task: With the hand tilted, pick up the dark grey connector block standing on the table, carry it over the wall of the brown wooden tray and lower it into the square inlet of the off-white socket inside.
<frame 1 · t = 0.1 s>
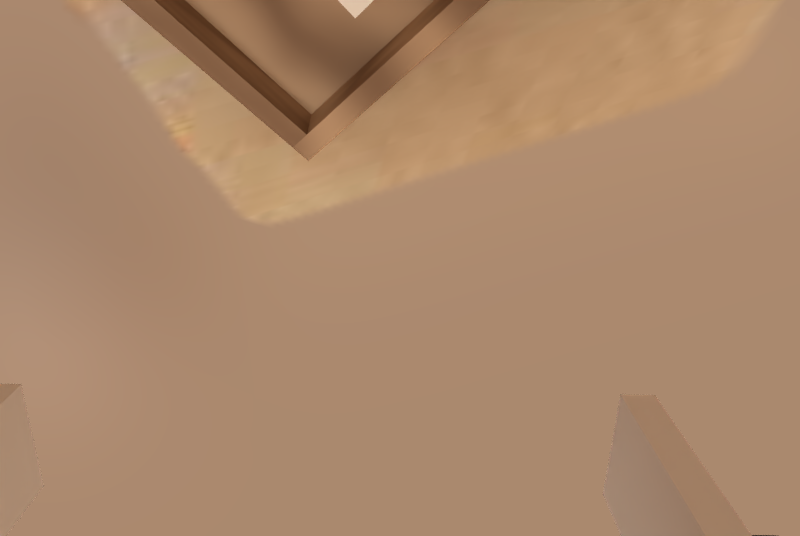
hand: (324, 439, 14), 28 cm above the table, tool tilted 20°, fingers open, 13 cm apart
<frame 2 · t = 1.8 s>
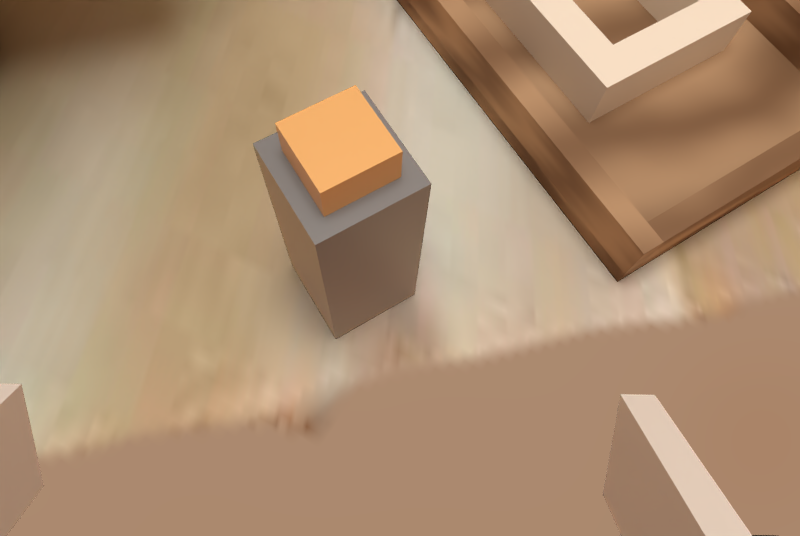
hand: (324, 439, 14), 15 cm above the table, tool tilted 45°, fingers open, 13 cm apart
brown wooden tray: (598, 37, 39), on the table
socket: (612, 5, 36), in the brown wooden tray, point 2 cm above the table
connector: (352, 279, 32), on the table
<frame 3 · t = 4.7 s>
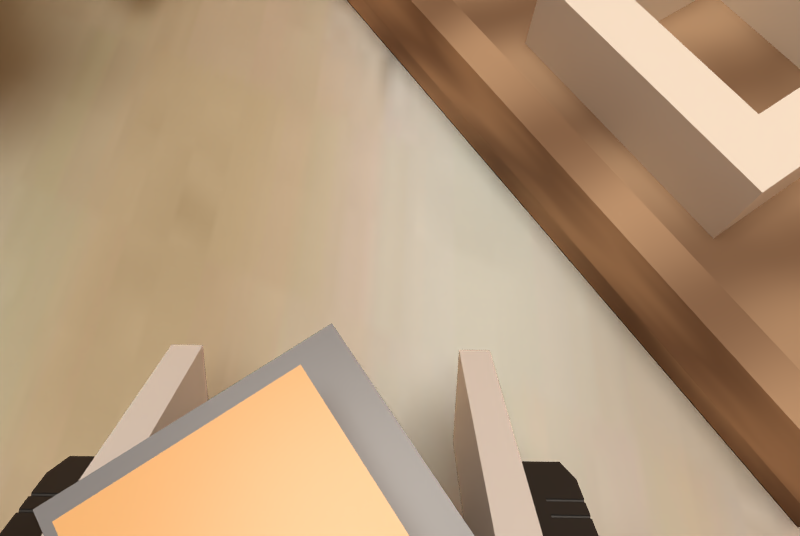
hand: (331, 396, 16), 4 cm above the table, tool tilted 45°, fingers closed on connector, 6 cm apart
brown wooden tray: (699, 90, 25), on the table
socket: (731, 44, 23), in the brown wooden tray, point 2 cm above the table
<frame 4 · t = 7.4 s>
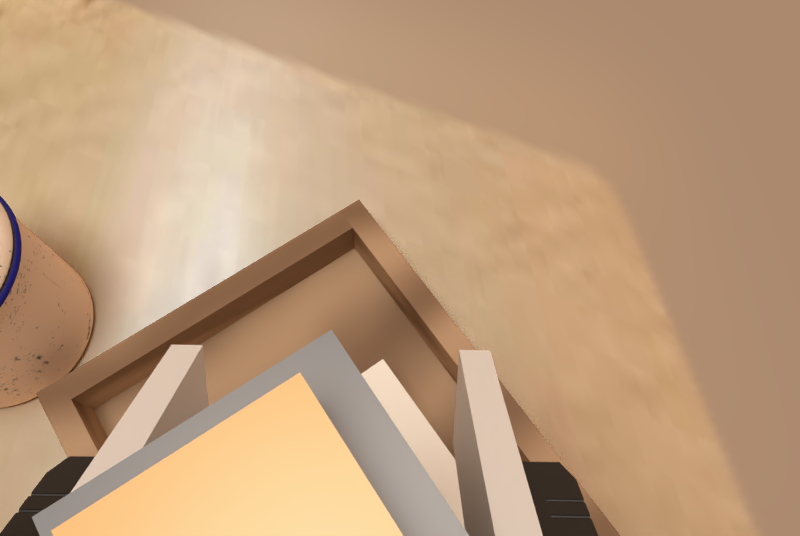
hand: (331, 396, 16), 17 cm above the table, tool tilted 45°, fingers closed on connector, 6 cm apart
brown wooden tray: (357, 520, 31), on the table
socket: (355, 519, 29), in the brown wooden tray, point 2 cm above the table
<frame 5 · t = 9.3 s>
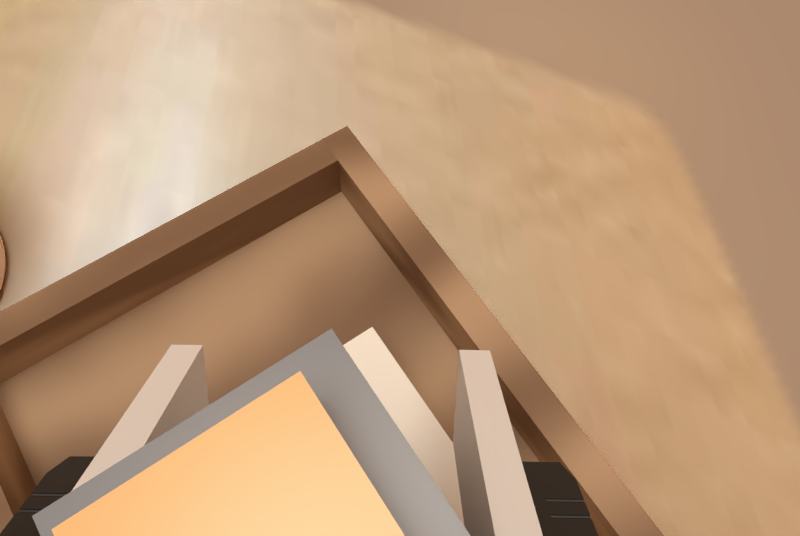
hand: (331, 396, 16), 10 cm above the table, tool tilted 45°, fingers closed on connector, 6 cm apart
when the fingers open (6 cm above the table, at t = 10.5 s): connector drops 1 cm, resting on brown wooden tray.
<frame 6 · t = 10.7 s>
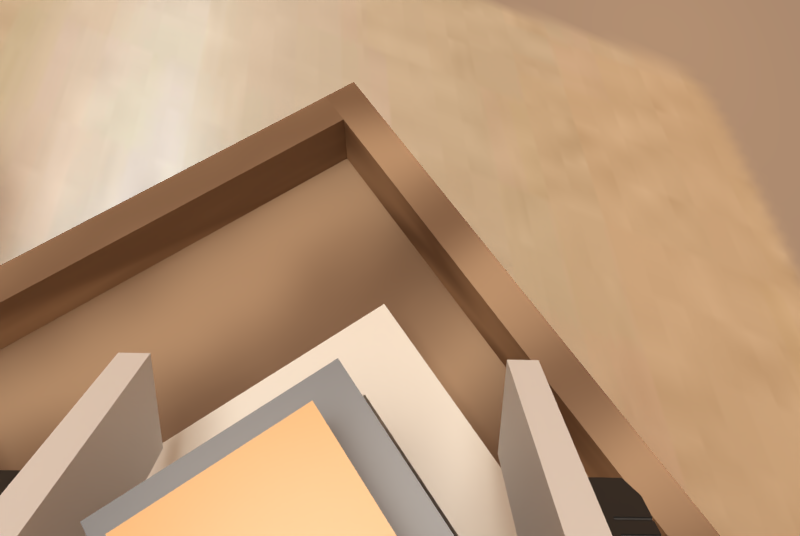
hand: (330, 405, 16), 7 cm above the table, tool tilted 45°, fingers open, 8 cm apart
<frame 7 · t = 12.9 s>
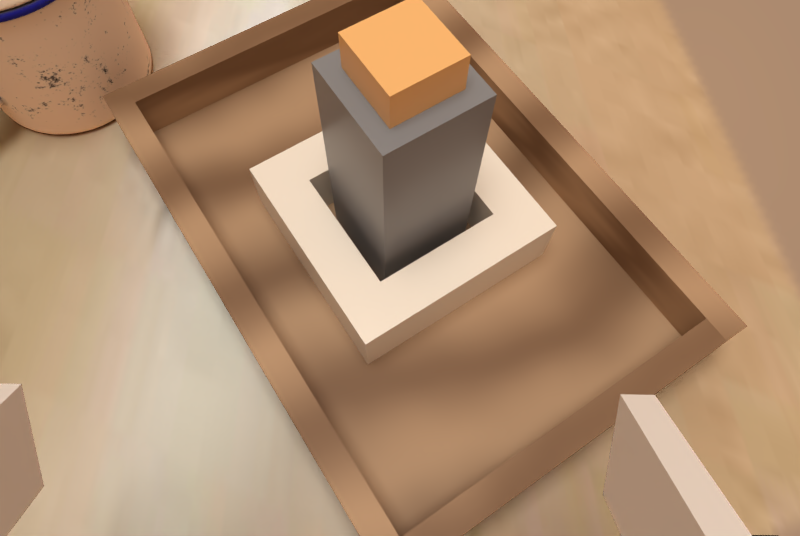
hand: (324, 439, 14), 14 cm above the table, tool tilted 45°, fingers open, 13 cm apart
brown wooden tray: (399, 237, 32), on the table
teacup with lid: (61, 95, 36), on the table
socket: (399, 213, 30), in the brown wooden tray, point 2 cm above the table
connector: (399, 230, 31), point 1 cm above the table, touching brown wooden tray
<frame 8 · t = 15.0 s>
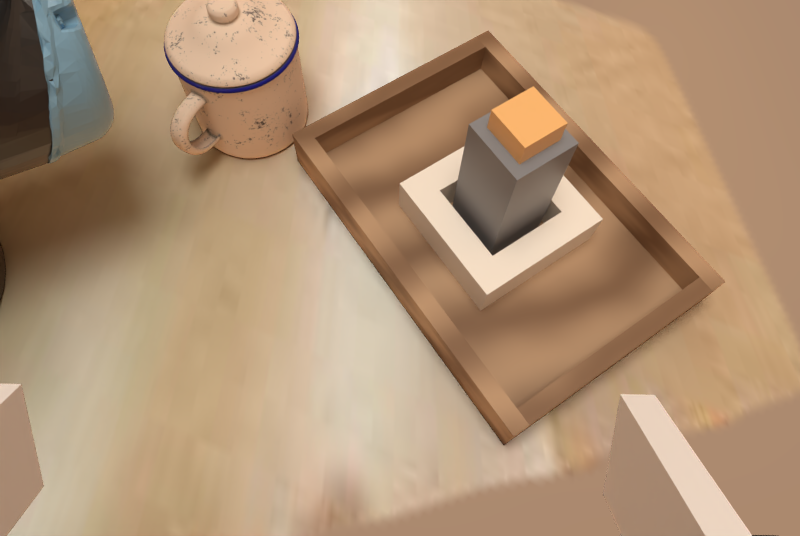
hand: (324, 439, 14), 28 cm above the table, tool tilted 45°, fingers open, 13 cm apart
brown wooden tray: (491, 227, 48), on the table
teacup with lid: (244, 129, 51), on the table
socket: (496, 211, 45), in the brown wooden tray, point 2 cm above the table
connector: (493, 222, 47), point 1 cm above the table, touching brown wooden tray
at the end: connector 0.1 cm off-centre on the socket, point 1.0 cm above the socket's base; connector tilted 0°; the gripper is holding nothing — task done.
